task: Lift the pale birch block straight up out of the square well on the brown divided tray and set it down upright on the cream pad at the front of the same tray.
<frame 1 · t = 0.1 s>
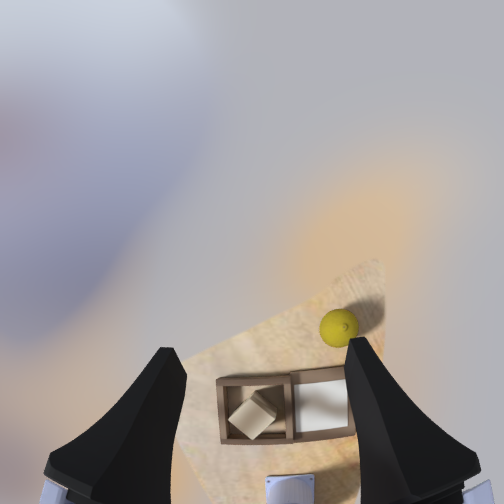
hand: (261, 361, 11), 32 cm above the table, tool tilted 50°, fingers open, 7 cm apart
block: (256, 409, 38), resting in brown divided tray
lemon: (334, 329, 40), on the table
brown divided tray: (287, 408, 37), on the table
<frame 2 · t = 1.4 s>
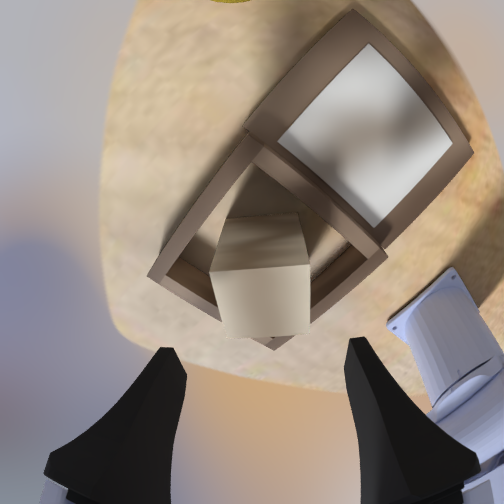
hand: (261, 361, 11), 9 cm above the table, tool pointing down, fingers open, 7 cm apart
block: (265, 246, 19), resting in brown divided tray
brown divided tray: (314, 195, 17), on the table
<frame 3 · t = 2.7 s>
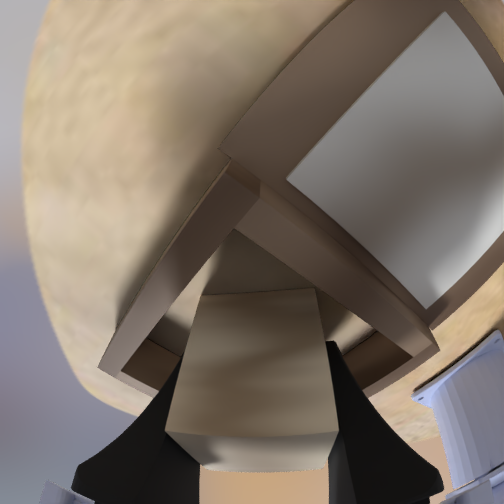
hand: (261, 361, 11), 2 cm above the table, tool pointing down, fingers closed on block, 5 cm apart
block: (262, 331, 12), resting in brown divided tray, touching gripper
brown divided tray: (342, 262, 10), on the table
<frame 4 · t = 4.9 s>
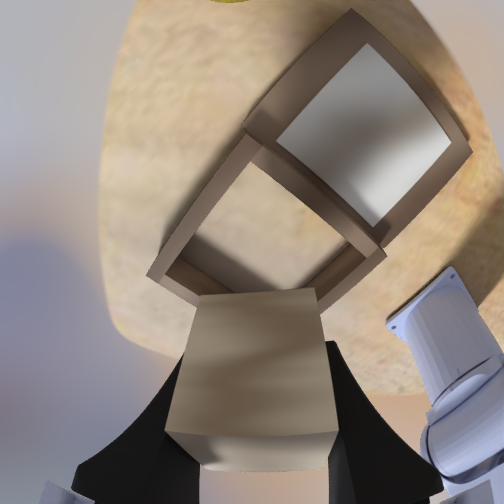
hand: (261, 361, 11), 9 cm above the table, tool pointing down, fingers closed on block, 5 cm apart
block: (262, 331, 12), point 8 cm above the table, touching gripper
brown divided tray: (312, 194, 17), on the table
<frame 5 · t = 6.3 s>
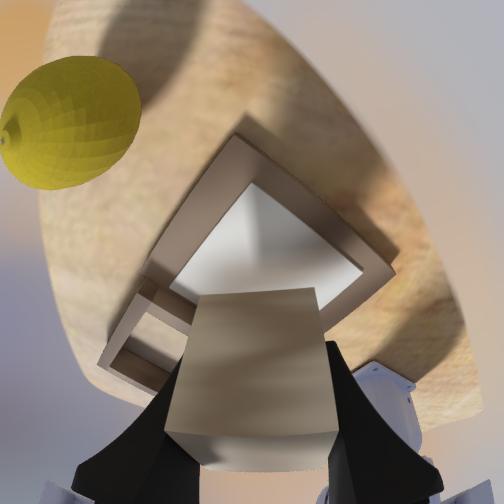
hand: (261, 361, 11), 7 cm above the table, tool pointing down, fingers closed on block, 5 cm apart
block: (262, 330, 12), point 5 cm above the table, touching gripper
lemon: (119, 111, 12), on the table
brown divided tray: (216, 317, 19), on the table
when the fingers open (4 cm above the table, at t = 7.2 s): block stays where it is, resting on brown divided tray.
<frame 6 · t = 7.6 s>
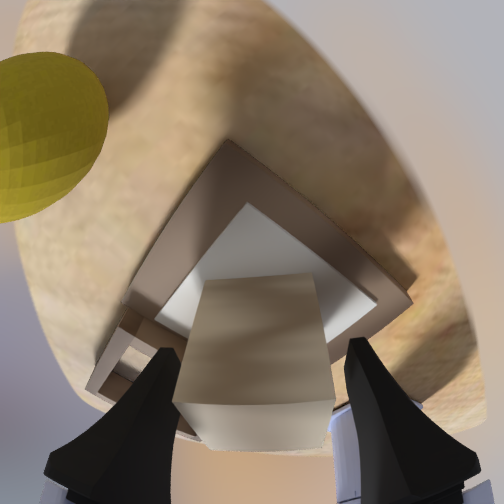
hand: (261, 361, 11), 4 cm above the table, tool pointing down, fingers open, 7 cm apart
block: (263, 315, 13), point 1 cm above the table, touching brown divided tray
lemon: (90, 115, 10), on the table
brown divided tray: (209, 347, 16), on the table
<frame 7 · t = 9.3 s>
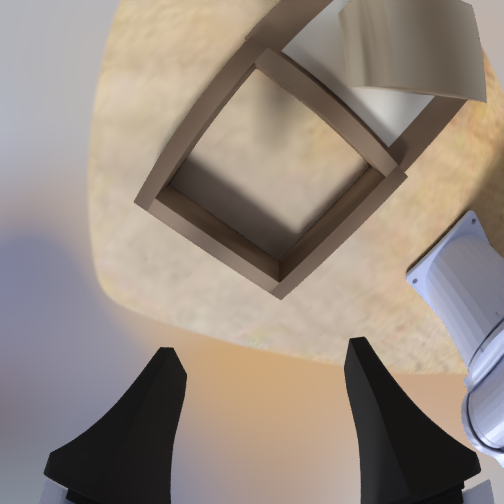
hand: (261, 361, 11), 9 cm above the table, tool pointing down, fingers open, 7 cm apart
block: (382, 53, 11), point 1 cm above the table, touching brown divided tray
brown divided tray: (321, 112, 14), on the table
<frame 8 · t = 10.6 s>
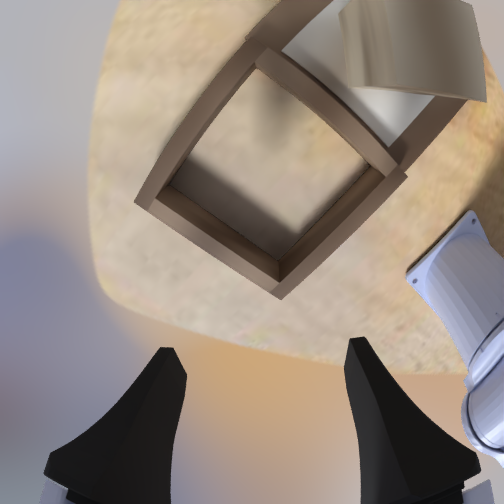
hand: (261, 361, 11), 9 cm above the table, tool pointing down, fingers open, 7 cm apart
block: (382, 53, 11), point 1 cm above the table, touching brown divided tray
brown divided tray: (321, 112, 14), on the table
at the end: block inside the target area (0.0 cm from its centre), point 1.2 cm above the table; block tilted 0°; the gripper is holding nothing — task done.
